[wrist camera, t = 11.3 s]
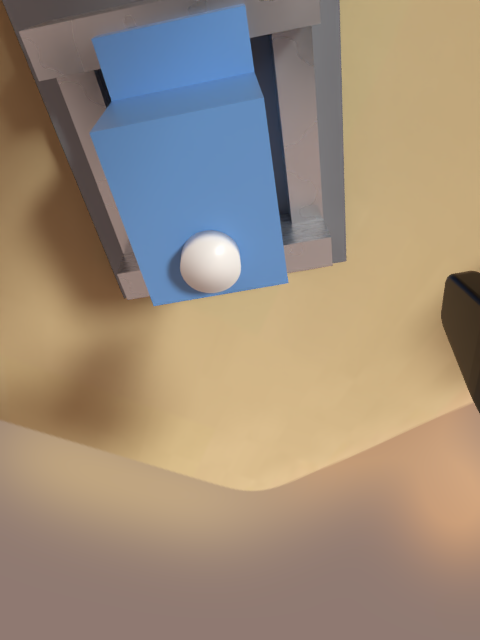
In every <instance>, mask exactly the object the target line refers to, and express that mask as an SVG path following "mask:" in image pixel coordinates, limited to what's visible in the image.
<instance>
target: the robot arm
mask: <svg viewBox="0 0 480 640" xmlns="http://www.w3.org/2000/svg"><path fill="white" fill-rule="evenodd" d="M441 319H442V324H443V327H444V330H445V332H446V335H447V337H448V340H449V342H450V345H451V347H452V350H453V352H454V355H455V357H456V360H457V362H458V365H459V367H460V370H461V373H462V375H463V378H464V380H465V383H466V385H467V388H468V390H469V392H470V395H471V397H472V399H473V401H474V403H475V405H476V407H477V409H478V411H479V413H480V273H479V272H476V271H467V272H461V273H455V274H451V275H450V276H448V277H447V279H446V282H445V289H444V296H443V303H442V311H441Z"/></svg>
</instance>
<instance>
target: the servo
mask: <svg viewBox="0 0 480 640" xmlns="http://www.w3.org/2000/svg"><path fill="white" fill-rule="evenodd" d="M91 40H92V43H93V46H94V49H95V52H96V55H97V58H98V61H99V64H100V67H101V70H102V73H103V76H104V79H105V83H106V86H107V89H108V92H109V95H110V98H111V101H112V102H111V103H110V104H109V106H108V107H107V109H106V110H105V111H104V113H103V114H102V116H101V117H100V118H99V120H98V121H97V123H96V124H95V125H94V127H93V128H92V130H91V131H90V136H91V139H92V142H93V144H94V147H95V150H96V152H97V155H98V158H99V160H100V163H101V166H102V168H103V171H104V174H105V176H106V179H107V182H108V185H109V187H110V190H111V193H112V195H113V198H114V201H115V203H116V206H117V209H118V211H119V214H120V217H121V219H122V222H123V225H124V228H125V230H126V233H127V236H128V238H129V241H130V244H131V246H132V249H133V252H134V254H135V257H136V260H137V262H138V265H139V268H140V271H141V273H142V276H143V279H144V281H145V284H146V287H147V289H148V292H149V295H150V297H151V300H152V303H153V305H154V306H157V305H163V304H169V303H175V302H181V301H186V300H192V299H198V298H204V297H210V296H215V295H221V294H227V293H233V292H239V291H244V290H250V289H256V288H262V287H268V286H274V285H279V284H285V283H288V277H287V269H286V262H285V254H284V246H283V239H282V231H281V224H280V216H279V209H278V201H277V193H276V186H275V178H274V171H273V163H272V156H271V148H270V140H269V133H268V125H267V118H266V110H265V103H264V97H263V94H262V91H261V88H260V86H259V83H258V80H257V77H256V75H255V72H254V65H253V58H252V51H251V44H250V36H249V29H248V22H247V15H246V8H245V4H239V5H234V6H230V7H225V8H221V9H216V10H212V11H207V12H202V13H198V14H193V15H189V16H184V17H180V18H175V19H171V20H166V21H161V22H157V23H152V24H148V25H143V26H139V27H134V28H129V29H125V30H120V31H116V32H111V33H107V34H102V35H97V36H95V37H93V38H92V39H91Z"/></svg>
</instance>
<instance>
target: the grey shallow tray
mask: <svg viewBox="0 0 480 640" xmlns="http://www.w3.org/2000/svg"><path fill="white" fill-rule="evenodd" d="M2 2H3V4H4V6H5V9H6V11H7V14H8V16H9V19H10V21H11V24H12V26H13V28H14V31H15V33H16V36H17V38H18V41H19V43H20V46H21V48H22V50H23V53H24V55H25V58H26V60H27V63H28V65H29V67H30V70H31V72H32V75H33V77H34V80H35V82H36V85H37V87H38V89H39V92H40V94H41V97H42V99H43V102H44V104H45V106H46V109H47V111H48V114H49V116H50V119H51V121H52V124H53V126H54V128H55V131H56V133H57V136H58V138H59V141H60V143H61V145H62V148H63V150H64V153H65V155H66V158H67V160H68V163H69V165H70V167H71V170H72V172H73V175H74V177H75V180H76V182H77V185H78V187H79V189H80V192H81V194H82V197H83V199H84V202H85V204H86V206H87V209H88V211H89V214H90V216H91V219H92V221H93V224H94V226H95V228H96V231H97V233H98V236H99V238H100V241H101V243H102V245H103V248H104V250H105V253H106V255H107V258H108V260H109V263H110V265H111V267H112V270H113V272H114V275H115V277H116V280H117V282H118V285H119V287H120V289H121V292H122V294H123V297H124V298H127V300H131V299H136V298H142V297H148V296H150V295H149V292H148V289H147V287H146V284H145V281H144V279H143V276H142V273H141V271H140V268H139V265H138V262H137V260H136V257H135V254H134V252H133V249H132V246H131V244H130V241H129V238H128V236H127V233H126V230H125V228H124V225H123V222H122V219H121V217H120V214H119V211H118V209H117V206H116V203H115V201H114V198H113V195H112V193H111V190H110V187H109V185H108V182H107V179H106V176H105V174H104V171H103V168H102V166H101V163H100V160H99V158H98V155H97V152H96V150H95V147H94V144H93V142H92V139H91V136H90V131H91V130H92V128H93V127H94V125H95V124H96V123H97V121H98V120H99V118H100V117H101V116H102V114H103V113H104V111H105V110H106V109H107V107H108V106H109V104H110V103H111V102H112V101H111V98H110V95H109V92H108V89H107V86H106V83H105V79H104V76H103V73H102V70H101V67H100V64H99V61H98V58H97V55H96V52H95V49H94V46H93V43H92V40H91V39H92V38H93V37H95V36H97V35H102V34H107V33H111V32H116V31H120V30H125V29H129V28H134V27H139V26H143V25H148V24H152V23H157V22H161V21H166V20H171V19H175V18H180V17H184V16H189V15H193V14H198V13H202V12H207V11H212V10H216V9H221V8H225V7H230V6H234V5H239V4H245V8H246V15H247V22H248V29H249V36H250V44H251V51H252V58H253V65H254V72H255V75H256V77H257V80H258V83H259V86H260V88H261V91H262V94H263V97H264V103H265V110H266V118H267V125H268V133H269V140H270V148H271V156H272V163H273V171H274V178H275V186H276V193H277V201H278V209H279V216H280V224H281V231H282V239H283V246H284V254H285V262H286V269H287V273H291V272H297V271H303V270H309V269H315V268H321V267H327V266H333V264H332V263H338V262H344V261H346V231H345V193H344V155H343V117H342V79H341V41H340V3H339V0H2Z"/></svg>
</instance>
